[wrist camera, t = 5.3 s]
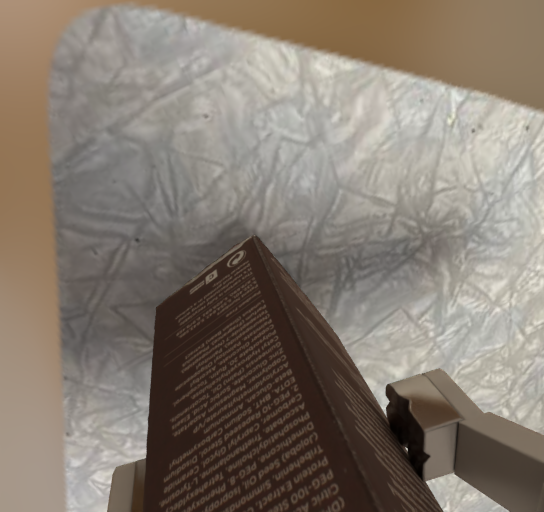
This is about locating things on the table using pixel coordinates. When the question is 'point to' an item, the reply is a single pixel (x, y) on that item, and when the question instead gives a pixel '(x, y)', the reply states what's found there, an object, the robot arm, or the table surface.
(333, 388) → the box
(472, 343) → the table surface
